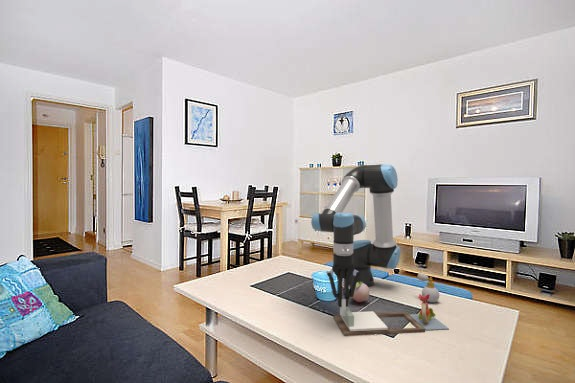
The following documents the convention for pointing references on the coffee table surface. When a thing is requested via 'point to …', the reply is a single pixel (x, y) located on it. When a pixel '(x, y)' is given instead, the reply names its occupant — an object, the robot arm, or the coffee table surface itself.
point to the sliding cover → (363, 321)
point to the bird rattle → (425, 310)
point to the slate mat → (429, 323)
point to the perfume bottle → (429, 288)
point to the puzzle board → (347, 332)
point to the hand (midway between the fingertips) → (342, 314)
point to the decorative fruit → (361, 292)
